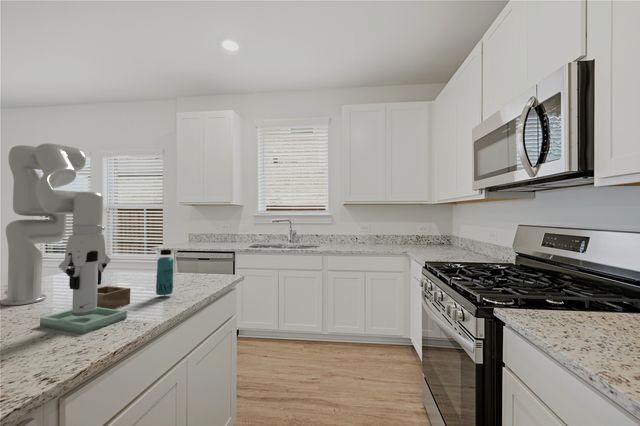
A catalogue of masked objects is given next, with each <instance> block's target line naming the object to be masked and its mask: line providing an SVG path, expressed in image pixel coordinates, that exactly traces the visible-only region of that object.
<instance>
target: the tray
mask: <svg viewBox="0 0 640 426" xmlns="http://www.w3.org/2000/svg"><path fill="white" fill-rule="evenodd" d="M72 310H73V309H72V308H71V309H69V310H64V311H61V312H57V313H54V314H50V315H46V316H43V317H40V318H39V327H43V328H49V329H54V330H61V331H64V332H65V331H66V332H71V333H77V334H81V335H85V334H87V333H89V332H93V331H96V330H99V329H100V328H103V327H106V326H110V325H113V324H116V323H118V322H120V321H123V320H126V319H127V316H128V315H127V310H123V309H122V310H120V309H116V308H115V309H108V308H101V307H97V311H96V312H95V313H94V314H91V315H86V316H74V315H72Z"/></svg>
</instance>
